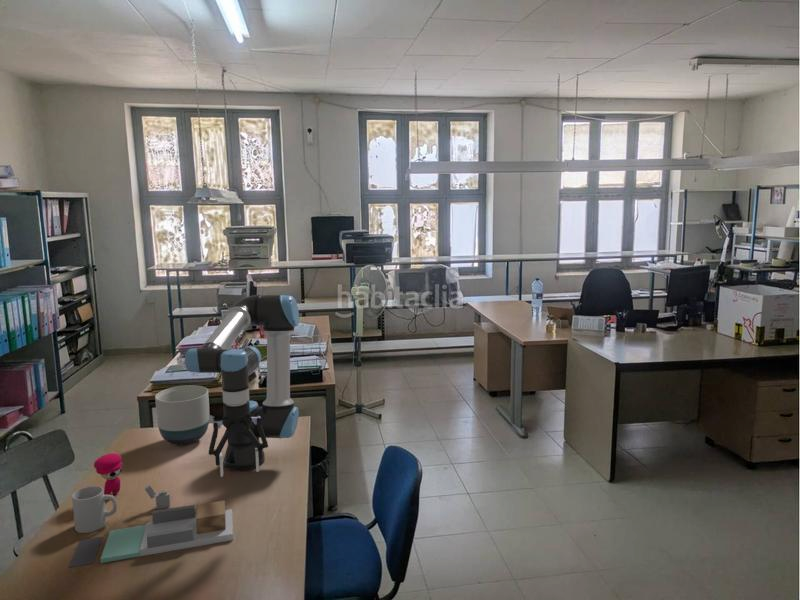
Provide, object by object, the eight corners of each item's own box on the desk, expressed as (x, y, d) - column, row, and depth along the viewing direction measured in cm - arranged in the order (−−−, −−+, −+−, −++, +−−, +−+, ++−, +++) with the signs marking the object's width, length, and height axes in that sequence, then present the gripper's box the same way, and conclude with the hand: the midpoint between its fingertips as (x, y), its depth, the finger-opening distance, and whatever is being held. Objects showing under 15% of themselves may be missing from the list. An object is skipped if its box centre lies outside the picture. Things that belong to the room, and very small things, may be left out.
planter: (151, 441, 228) (147, 392, 225) (199, 428, 242) (196, 382, 238) (169, 457, 213) (165, 405, 210) (219, 442, 227) (216, 393, 223)
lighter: (170, 504, 180) (168, 481, 179) (169, 507, 178) (168, 484, 177) (147, 507, 178) (145, 484, 177) (146, 510, 176) (144, 487, 175)
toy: (113, 504, 180) (109, 462, 177) (91, 501, 181) (87, 459, 179) (130, 491, 188) (127, 451, 185) (109, 489, 190) (105, 448, 187)
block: (225, 515, 170) (224, 500, 169) (225, 529, 163) (224, 514, 162) (198, 519, 168) (197, 504, 167) (197, 534, 160) (196, 518, 159)
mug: (71, 535, 163) (67, 501, 161) (80, 519, 171) (76, 487, 169) (114, 529, 166) (111, 496, 164) (121, 514, 174) (118, 482, 172)
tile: (147, 528, 166) (146, 524, 166) (140, 556, 153) (140, 552, 153) (110, 534, 163) (110, 530, 163) (100, 563, 150) (100, 558, 150)
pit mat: (103, 539, 162) (102, 536, 162) (93, 566, 150) (93, 563, 150) (80, 543, 161) (80, 540, 160) (68, 570, 148) (68, 567, 148)
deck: (232, 514, 174) (231, 499, 173) (233, 540, 161) (232, 523, 160) (147, 528, 166) (145, 512, 165) (140, 556, 153) (138, 538, 152)
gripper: (273, 394, 168) (276, 461, 172) (196, 401, 162) (201, 471, 165) (275, 402, 161) (278, 472, 165) (195, 410, 155) (200, 483, 158)
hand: (239, 472), depth 165 cm, fingers open, 10 cm apart
